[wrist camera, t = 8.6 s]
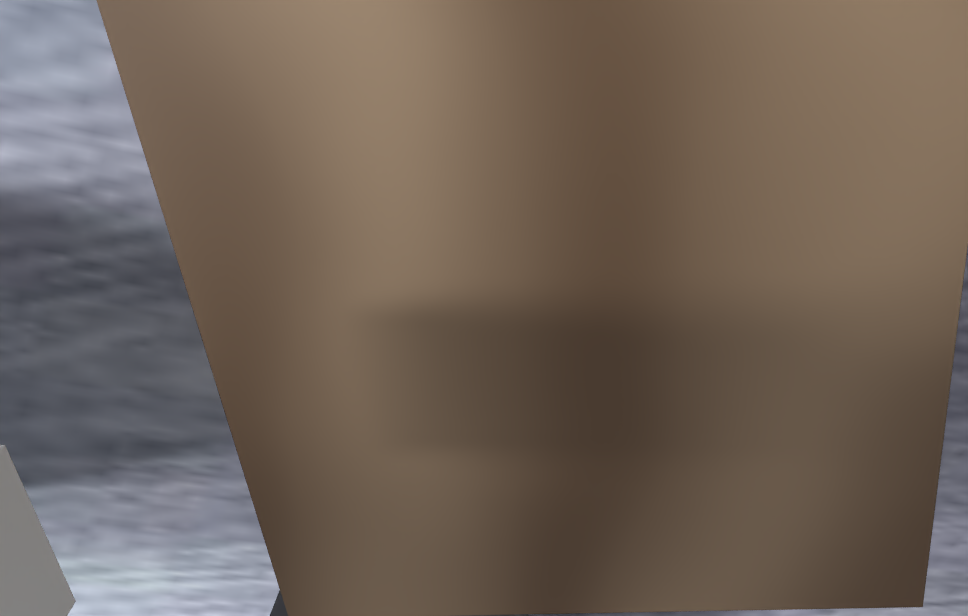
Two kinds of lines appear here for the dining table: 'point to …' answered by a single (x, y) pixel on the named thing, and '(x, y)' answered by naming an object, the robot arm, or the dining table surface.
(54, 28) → the dining table surface
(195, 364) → the dining table surface
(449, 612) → the lid
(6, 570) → the robot arm
